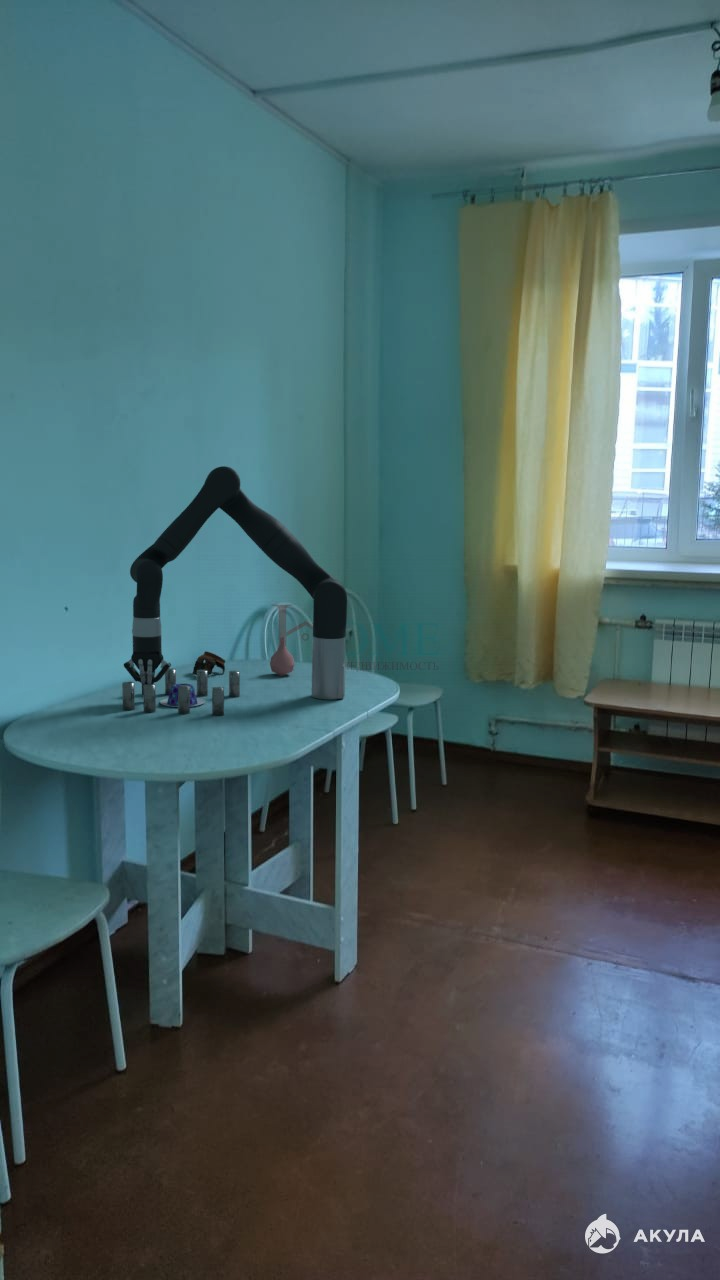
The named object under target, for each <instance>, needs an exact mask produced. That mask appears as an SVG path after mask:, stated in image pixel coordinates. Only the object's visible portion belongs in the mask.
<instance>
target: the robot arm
mask: <svg viewBox="0 0 720 1280" xmlns="http://www.w3.org/2000/svg"><path fill="white" fill-rule="evenodd" d="M218 509H220V510H221V511H222V512H224V513H225V514H226V515H227V516H229V517H230V518H231V519H233V521H234V522H235V523H236V524H237V525H238V526H239V527H240V528H241V529H242V530H243V532H244V533H245V534H246V535H247V536H248V537H249V538H250V540H251V541H252V542H253V543H254V544H255V545H256V546H257V547H258V549H260V550H261V551H262V552H263V553H264V554H265V556H266V557H268V558H269V560H271V561H272V562H273V563H275V565H277V566H278V567H279V568H281V570H283V571H284V572H286V573H287V574H289V575H290V576H291V577H293V578H294V579H296V581H297V582H298V583H299V584H300V585H301V586H302V588H304V589H305V591H306V592H307V593H308V594H309V595H310V597H311V598H312V599H313V606H312V608H313V616H312V618H313V619H312V620H313V621H312V648H311V649H312V650H311V651H312V652H311V653H312V659H311V660H312V661H311V666H312V667H311V697H312V698H315V699H318V700H338V699H339V700H341V699H343V700H344V698H345V693H346V666H347V665H346V632H347V619H348V618H347V617H348V616H347V613H348V594H347V591H346V588H345V587H344V585H343V584H342V582H341V581H339V580H338V579H337V578H335V577H334V576H332V575H331V574H330V573H329V572H327V571H326V570H325V569H324V568H323V567H322V566H320V564H319V563H317V562H316V560H315V559H314V558H313V557H312V556H311V555H310V553H309V552H308V551H307V549H306V548H305V547H304V545H303V544H302V543H301V542H300V540H298V538H297V537H296V536H295V535H294V533H292V532H291V531H290V530H289V529H288V528H287V527H286V526H285V525H284V524H283V523H282V522H281V521H280V520H279V519H277V518H276V517H274V516H273V515H271V514H270V513H268V512H266V511H265V510H264V509H262V508H260V507H259V506H258V505H256V504H255V503H254V502H253V501H252V500H251V499H250V498H249V496H247V495H246V494H245V492H244V491H243V489H241V478H240V475H239V474H238V472H237V471H236V470H235V469H234V468H232V467H230V466H226V465H225V466H218V467H215V468H214V469H212V470H211V471H210V472H209V473H208V475H207V477H206V478H205V480H204V484H203V485H202V486H201V489H200V490H199V491H198V493H197V494H196V495H195V497H194V498H193V499H192V501H190V503H189V504H188V505H187V506H186V508H185V509H184V510H183V511H182V512H181V513H180V514H179V515H178V516H177V517H176V518H175V519H174V520H173V521H172V522H171V523H170V524H169V525H168V526H167V527H166V528H165V529H164V531H163V532H162V533H161V534H160V535H159V537H157V538H156V539H155V542H154V543H153V544H151V545H150V546H149V547H147V548H146V549H145V550H144V551H143V552H142V553H140V554H139V556H137V557H136V558H135V559H134V561H133V562H132V564H131V565H130V570H129V574H130V577H131V579H132V580H133V581H134V582H135V583H136V595H135V596H134V597H133V601H132V615H133V616H132V617H133V618H132V629H131V633H132V654H131V656H130V659H129V660H128V661H126V662H124V663H123V667H124V668H125V670H126V671H127V673H129V675H130V676H131V678H132V679H133V681H134V682H138V683H141V694H142V696H144V689H143V685H144V684H155V683H157V682H160V680H161V679H162V678H163V676H165V673H166V672H167V670H168V669H171V667H172V663H171V662H168V661H166V660H165V658H164V655H163V653H162V648H163V647H162V621H161V602H160V601H161V594H162V590H163V589H162V588H163V582H164V579H163V578H164V575H163V574H164V573H163V570H162V569H163V568H164V567H165V566H166V565H167V564H168V563H170V562H173V561H175V560H176V559H177V558H178V557H179V556H180V555H181V554H182V553H183V551H184V550H185V549H186V547H188V545H189V544H190V543H191V541H192V540H194V538H195V537H196V536H197V534H198V533H199V531H200V530H201V528H202V527H203V526H204V525H205V523H206V522H207V520H209V519H210V517H212V515H213V514H214V513H215V512H216V511H218ZM135 666H136V668H137V669H138V670H139V671H138V670H137V669H136V668H135ZM159 666H160V668H161V670H160V671H159V672H158V673H157V674H156V670H157V669H158V667H159ZM155 674H156V676H155Z"/></svg>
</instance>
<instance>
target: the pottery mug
mask: <svg viewBox="0 0 720 1280" xmlns="http://www.w3.org/2000/svg"><path fill="white" fill-rule="evenodd" d="M225 663H226V660H225V659H224V658H222V657H220V656H219V655H217V654H216V653H213V652H210V651H204V652H203V654H201V655H199V656H198V657H197V658H196V661H195V663H194V667H193V670H192V675H195V676H197V670H208V675H212V673H213V670H214V669H215V667H217V668H219V669H222V673H221V674H222V675H224V674H225V672H226V666H225Z"/></svg>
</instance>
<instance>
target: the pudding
mask: <svg viewBox="0 0 720 1280" xmlns="http://www.w3.org/2000/svg"><path fill="white" fill-rule="evenodd" d="M180 685H189V686H190V708H192V707H197V706H200V705H203V704H204V703H206V700H205V699H203V698H201V697H197V694H196V692H195V688H194V685H192V684H190V683H176V684H174V685H173V686H172V687H171V690H170V694H169V695H168V697H167V698H163V699H161V700H160V701H159V703H160V704H161V705H163V706H165V707H170V708H171V707H172V708H177V707H178V686H180Z"/></svg>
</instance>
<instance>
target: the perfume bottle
mask: <svg viewBox="0 0 720 1280" xmlns="http://www.w3.org/2000/svg"><path fill="white" fill-rule="evenodd" d="M269 661H270V662H269V666H270V667H269V668H270V669H271V672H273V673H274V674H277V675H278V676H280V677H285V676H286V675H287V674H290V673H292V672H293V669H294V667H295V659H294V656H293V655H292V654H291V653H290V652H289V650H288V648H287V647H286V637H285V636H280V637H279V646H278V648H277V650H276V651H275V652H274V653H273V654H272V655H271V657H270V660H269Z"/></svg>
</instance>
